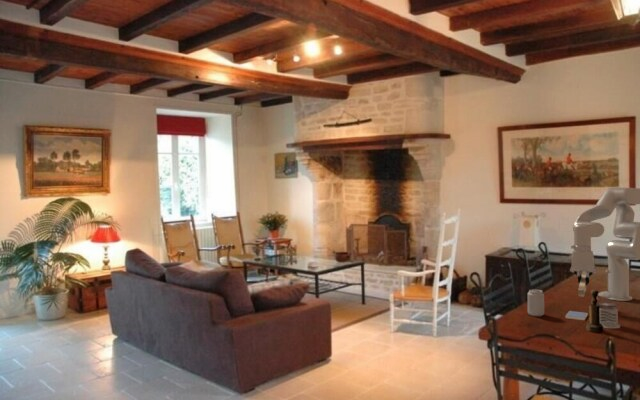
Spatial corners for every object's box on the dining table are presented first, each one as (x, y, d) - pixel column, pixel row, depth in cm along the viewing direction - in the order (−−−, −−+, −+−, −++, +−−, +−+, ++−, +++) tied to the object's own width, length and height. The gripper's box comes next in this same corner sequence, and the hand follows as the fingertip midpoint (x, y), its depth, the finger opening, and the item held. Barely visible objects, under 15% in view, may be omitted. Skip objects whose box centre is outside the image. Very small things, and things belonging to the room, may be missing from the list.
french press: (620, 329, 221) (620, 272, 220) (590, 326, 227) (590, 270, 226) (620, 323, 229) (620, 269, 228) (591, 320, 236) (591, 267, 234)
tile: (569, 310, 249) (565, 315, 241) (587, 312, 244) (584, 317, 236) (569, 314, 249) (565, 319, 241) (587, 316, 244) (584, 321, 236)
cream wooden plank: (583, 277, 264) (582, 271, 262) (588, 278, 262) (587, 271, 261) (578, 296, 252) (578, 289, 250) (584, 296, 251) (583, 290, 249)
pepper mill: (582, 328, 224) (582, 288, 223) (596, 327, 225) (596, 287, 224) (592, 332, 218) (592, 291, 217) (606, 332, 218) (606, 290, 217)
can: (545, 317, 243) (545, 292, 242) (529, 316, 244) (529, 292, 244) (542, 312, 250) (542, 288, 250) (526, 312, 252) (526, 288, 251)
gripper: (563, 249, 257) (565, 284, 259) (599, 250, 248) (600, 287, 249) (566, 246, 263) (567, 281, 265) (601, 247, 254) (602, 284, 255)
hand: (583, 284), depth 257 cm, fingers closed on cream wooden plank, 2 cm apart
